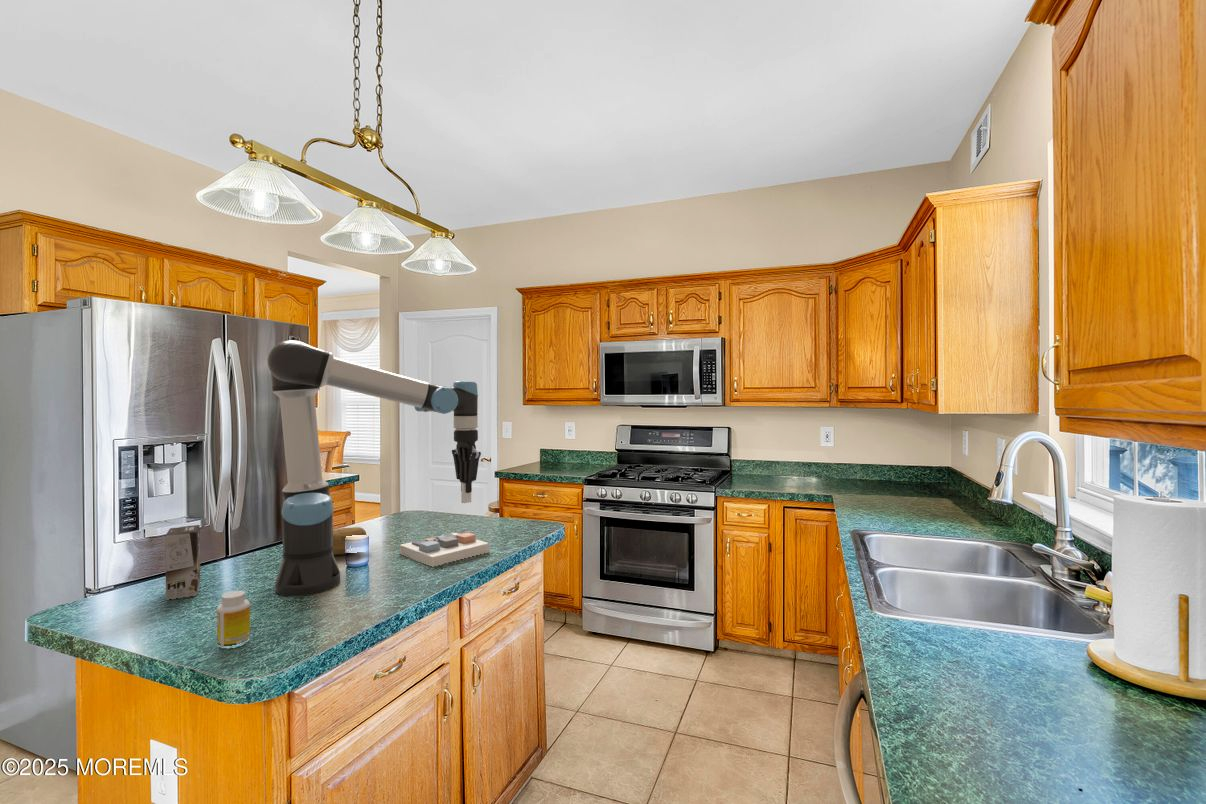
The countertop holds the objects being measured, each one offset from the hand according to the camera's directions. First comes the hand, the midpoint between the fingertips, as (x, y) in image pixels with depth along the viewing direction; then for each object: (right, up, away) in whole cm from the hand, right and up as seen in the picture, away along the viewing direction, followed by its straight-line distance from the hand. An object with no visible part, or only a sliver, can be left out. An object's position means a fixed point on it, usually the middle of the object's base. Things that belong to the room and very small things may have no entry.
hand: (466, 502), depth 177 cm
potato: (-38, -16, -4) cm, 41 cm away
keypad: (-6, -16, -3) cm, 17 cm away
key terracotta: (0, -14, 0) cm, 14 cm away
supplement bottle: (-31, -17, -66) cm, 74 cm away
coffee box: (-62, -16, -38) cm, 74 cm away
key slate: (-9, -14, -10) cm, 19 cm away
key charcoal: (-5, -14, -5) cm, 15 cm away
